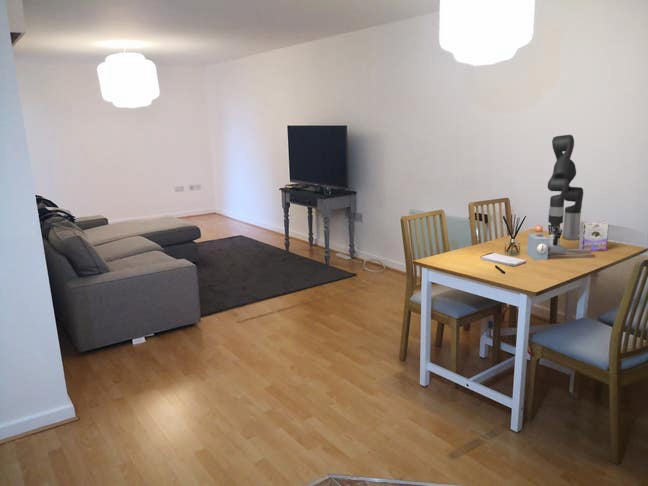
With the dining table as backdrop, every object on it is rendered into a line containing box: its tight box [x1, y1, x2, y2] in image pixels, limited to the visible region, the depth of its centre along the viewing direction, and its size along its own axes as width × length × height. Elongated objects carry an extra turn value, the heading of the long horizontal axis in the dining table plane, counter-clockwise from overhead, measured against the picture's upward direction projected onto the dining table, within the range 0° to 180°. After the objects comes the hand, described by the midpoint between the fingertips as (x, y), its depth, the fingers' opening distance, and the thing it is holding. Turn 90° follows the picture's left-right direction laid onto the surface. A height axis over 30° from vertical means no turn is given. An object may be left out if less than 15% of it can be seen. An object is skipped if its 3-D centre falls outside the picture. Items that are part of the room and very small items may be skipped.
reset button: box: [534, 225, 544, 233], centre depth 280 cm, size 4×4×3 cm
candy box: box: [578, 220, 610, 252], centre depth 292 cm, size 14×6×16 cm, turn 84°
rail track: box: [547, 248, 596, 260], centre depth 283 cm, size 10×26×4 cm, turn 89°
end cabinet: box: [526, 233, 549, 261], centre depth 282 cm, size 13×7×12 cm, turn 179°
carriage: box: [548, 234, 565, 252], centre depth 281 cm, size 8×8×8 cm
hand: (553, 244), depth 281 cm, fingers closed on carriage, 2 cm apart
